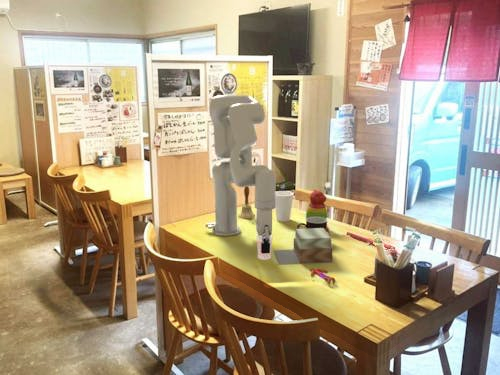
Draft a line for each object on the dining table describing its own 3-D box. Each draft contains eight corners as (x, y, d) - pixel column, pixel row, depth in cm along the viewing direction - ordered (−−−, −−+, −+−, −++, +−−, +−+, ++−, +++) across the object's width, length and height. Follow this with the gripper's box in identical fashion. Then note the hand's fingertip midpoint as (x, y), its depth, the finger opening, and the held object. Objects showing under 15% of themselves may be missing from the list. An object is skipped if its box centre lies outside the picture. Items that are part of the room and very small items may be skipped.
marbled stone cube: (299, 262, 164) (300, 239, 162) (293, 250, 176) (294, 228, 174) (331, 261, 165) (332, 238, 163) (323, 249, 177) (324, 227, 175)
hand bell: (236, 214, 226) (236, 183, 222) (252, 213, 228) (252, 182, 224) (240, 219, 218) (240, 187, 215) (257, 218, 220) (257, 186, 217)
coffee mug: (328, 240, 190) (328, 217, 187) (324, 247, 182) (325, 224, 180) (300, 237, 193) (301, 215, 191) (296, 244, 186) (296, 221, 183)
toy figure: (318, 270, 161) (318, 263, 161) (341, 283, 151) (341, 275, 151) (300, 275, 157) (300, 268, 157) (322, 288, 147) (322, 281, 147)
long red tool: (390, 255, 177) (397, 249, 179) (389, 251, 176) (396, 245, 178) (343, 238, 195) (350, 233, 197) (342, 234, 194) (349, 229, 197)
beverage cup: (262, 264, 166) (263, 228, 162) (252, 258, 170) (253, 223, 167) (275, 260, 169) (276, 224, 165) (265, 254, 174) (266, 220, 170)
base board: (278, 267, 163) (278, 264, 163) (272, 253, 176) (272, 250, 176) (332, 265, 165) (332, 262, 164) (322, 251, 178) (323, 248, 178)
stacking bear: (329, 232, 199) (331, 193, 195) (306, 232, 200) (307, 193, 195) (326, 225, 210) (327, 187, 206) (304, 224, 210) (305, 187, 206)
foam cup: (293, 222, 213) (294, 196, 210) (273, 222, 213) (274, 196, 210) (291, 216, 223) (292, 191, 219) (273, 216, 223) (273, 191, 220)
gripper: (252, 197, 172) (252, 241, 177) (257, 210, 155) (256, 259, 160) (271, 196, 173) (271, 240, 177) (278, 210, 156) (277, 258, 161)
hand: (264, 249), depth 169 cm, fingers closed on beverage cup, 6 cm apart
